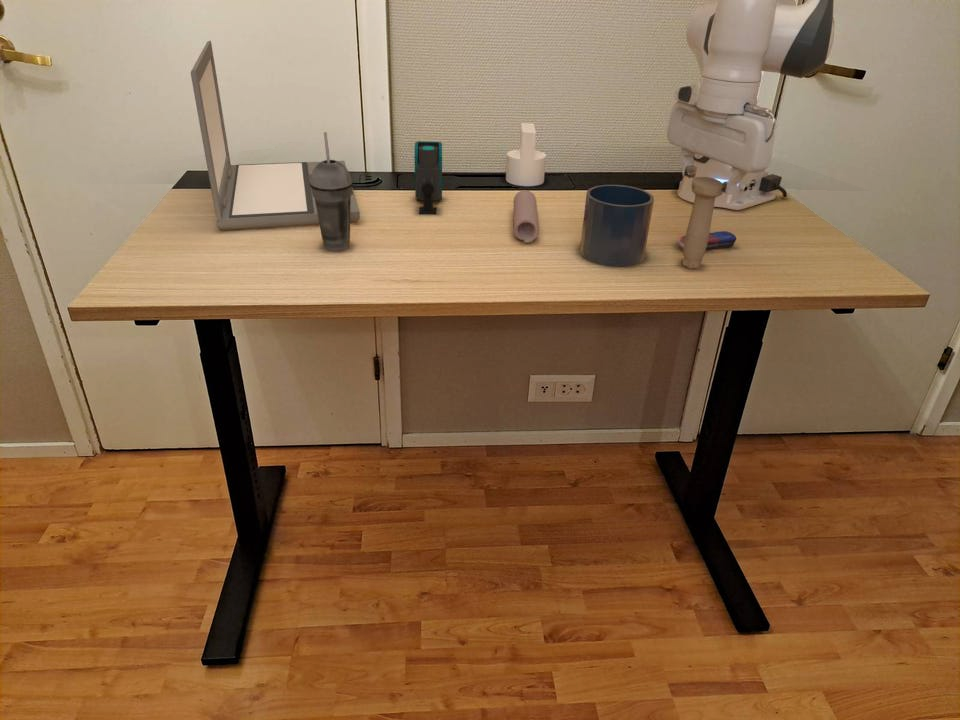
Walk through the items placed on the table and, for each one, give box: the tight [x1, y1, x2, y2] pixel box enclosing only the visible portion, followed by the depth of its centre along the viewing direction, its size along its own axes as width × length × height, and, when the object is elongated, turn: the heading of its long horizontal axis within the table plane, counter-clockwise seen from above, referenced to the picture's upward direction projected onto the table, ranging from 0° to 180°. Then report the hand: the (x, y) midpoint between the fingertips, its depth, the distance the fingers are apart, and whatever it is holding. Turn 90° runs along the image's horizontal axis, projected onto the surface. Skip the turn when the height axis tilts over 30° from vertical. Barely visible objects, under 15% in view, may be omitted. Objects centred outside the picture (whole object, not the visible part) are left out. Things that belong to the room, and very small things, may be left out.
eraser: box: [678, 230, 737, 251], centre depth 131 cm, size 11×4×2 cm, turn 107°
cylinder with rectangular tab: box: [505, 122, 547, 187], centre depth 160 cm, size 9×9×12 cm
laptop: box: [190, 40, 361, 231], centre depth 139 cm, size 35×26×28 cm
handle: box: [681, 177, 723, 269], centre depth 119 cm, size 5×6×15 cm
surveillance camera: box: [414, 140, 443, 215], centre depth 142 cm, size 6×12×10 cm
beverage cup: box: [310, 131, 354, 253], centre depth 120 cm, size 7×7×20 cm
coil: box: [513, 189, 540, 244], centre depth 136 cm, size 5×5×18 cm
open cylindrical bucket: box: [579, 184, 655, 268], centre depth 124 cm, size 12×12×11 cm
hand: (707, 184), depth 115 cm, fingers open, 8 cm apart
